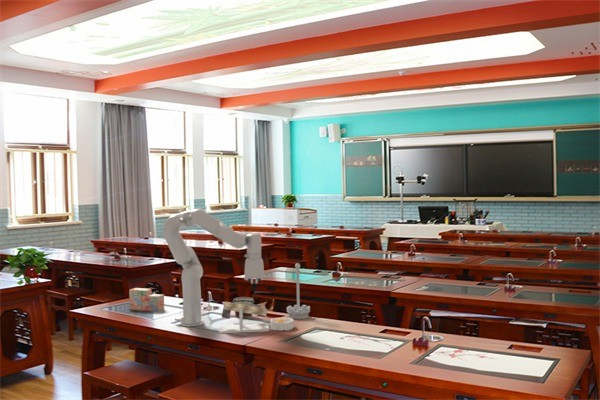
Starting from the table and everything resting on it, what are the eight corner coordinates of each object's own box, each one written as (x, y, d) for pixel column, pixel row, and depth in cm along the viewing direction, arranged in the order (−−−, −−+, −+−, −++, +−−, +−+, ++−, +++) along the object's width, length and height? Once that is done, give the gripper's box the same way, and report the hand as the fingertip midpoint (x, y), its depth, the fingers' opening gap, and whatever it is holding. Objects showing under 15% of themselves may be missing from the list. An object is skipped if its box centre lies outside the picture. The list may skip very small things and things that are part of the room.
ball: (275, 322, 301) (282, 318, 301) (275, 320, 305) (281, 316, 305) (279, 329, 301) (286, 325, 302) (278, 327, 305) (285, 323, 305)
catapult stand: (219, 333, 294) (218, 311, 294) (220, 327, 306) (219, 306, 306) (269, 331, 297) (268, 309, 296) (267, 325, 309) (267, 304, 308)
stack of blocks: (164, 310, 352) (164, 289, 352) (158, 312, 346) (157, 291, 346) (136, 307, 361) (135, 287, 361) (129, 309, 355) (128, 289, 355)
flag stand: (307, 319, 321) (306, 265, 320) (284, 319, 323) (283, 264, 322) (312, 314, 333) (311, 261, 333) (289, 313, 336) (288, 261, 335)
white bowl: (271, 331, 297) (270, 323, 297) (269, 325, 309) (269, 317, 309) (294, 330, 298) (294, 322, 298) (292, 324, 310) (292, 317, 310)
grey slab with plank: (221, 317, 297) (224, 304, 297) (222, 310, 314) (225, 297, 314) (264, 324, 299) (266, 311, 299) (263, 316, 317) (265, 304, 317)
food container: (256, 314, 336) (256, 297, 335) (254, 316, 330) (254, 299, 329) (235, 314, 337) (234, 296, 337) (232, 316, 331) (232, 299, 330)
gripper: (240, 257, 309) (240, 292, 309) (268, 257, 310) (268, 291, 311) (240, 255, 316) (240, 289, 317) (267, 255, 318) (267, 289, 318)
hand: (254, 290), depth 314 cm, fingers closed
